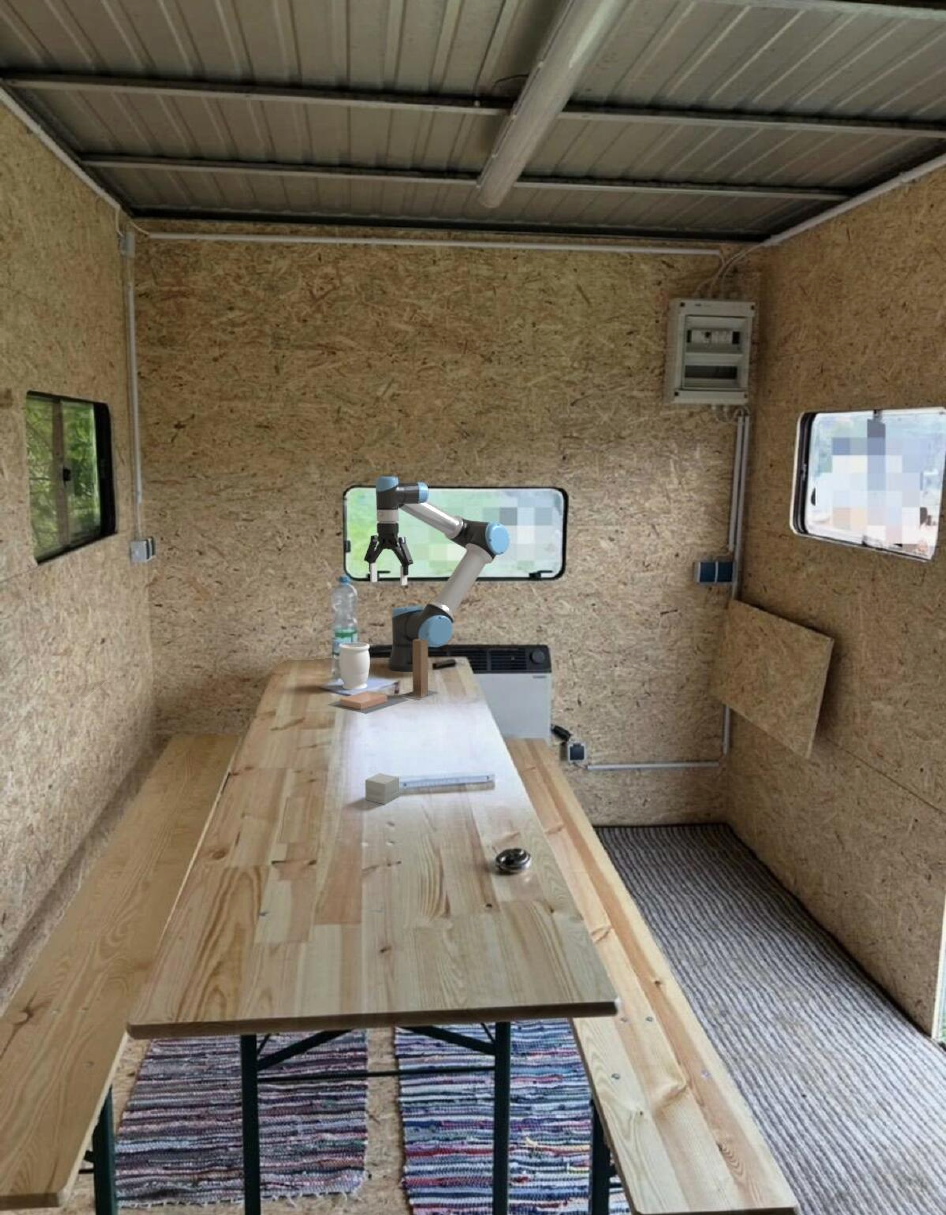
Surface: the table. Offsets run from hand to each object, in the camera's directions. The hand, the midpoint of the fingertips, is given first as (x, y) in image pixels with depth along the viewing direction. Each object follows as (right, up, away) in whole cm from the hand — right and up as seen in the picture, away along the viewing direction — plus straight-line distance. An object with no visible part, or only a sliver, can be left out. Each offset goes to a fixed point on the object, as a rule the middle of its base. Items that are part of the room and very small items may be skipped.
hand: (388, 583), depth 301 cm
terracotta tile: (-2, -37, -22) cm, 43 cm away
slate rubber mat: (-4, -39, -25) cm, 46 cm away
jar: (-11, -36, -5) cm, 38 cm away
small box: (+9, -52, -104) cm, 116 cm away
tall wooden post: (+12, -38, -16) cm, 43 cm away
